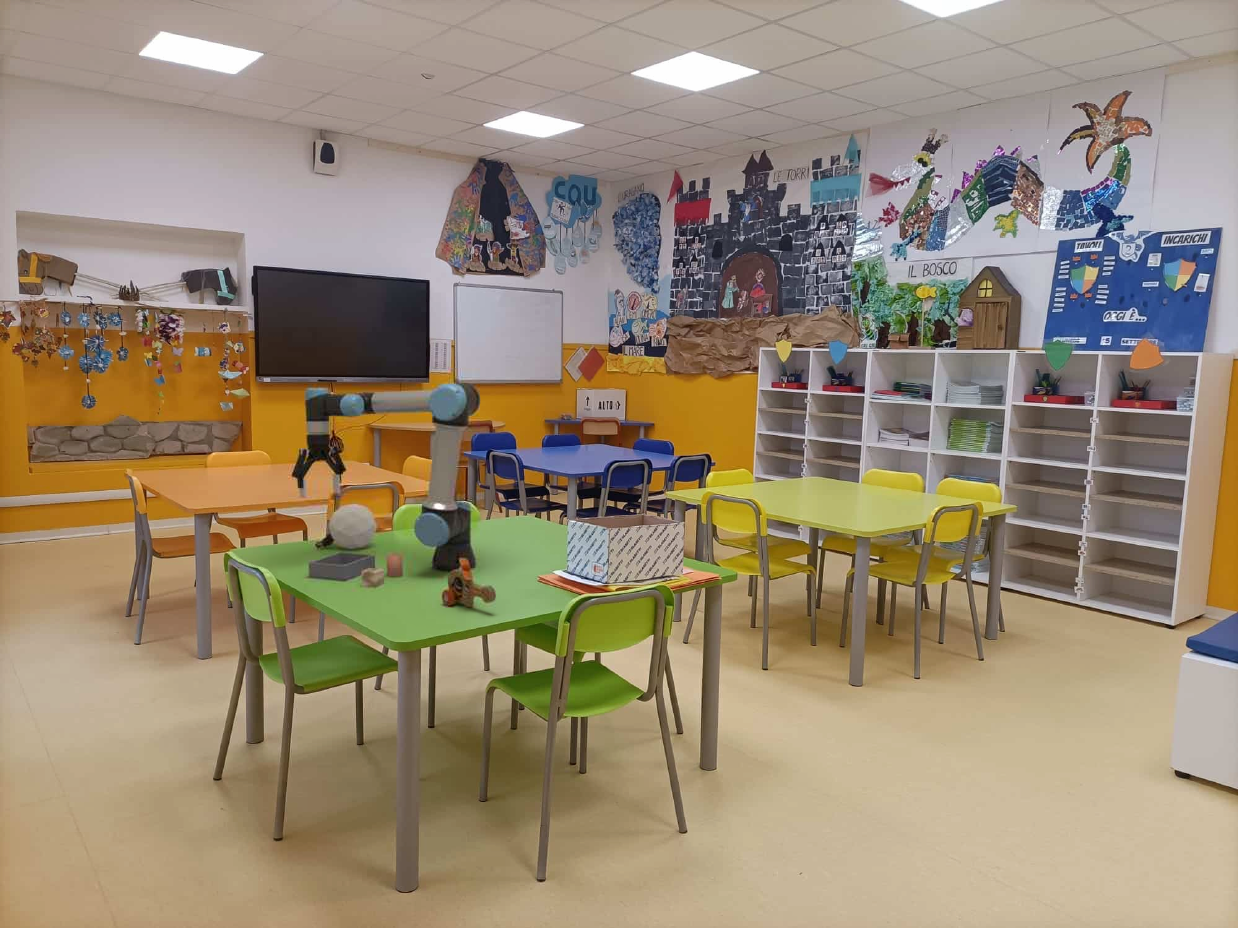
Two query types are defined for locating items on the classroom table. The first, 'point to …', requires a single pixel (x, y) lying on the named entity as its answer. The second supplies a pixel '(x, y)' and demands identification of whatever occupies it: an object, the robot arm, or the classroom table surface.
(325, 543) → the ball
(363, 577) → the wooden cube
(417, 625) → the classroom table surface
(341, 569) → the tote
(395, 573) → the red cylinder
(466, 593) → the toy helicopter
